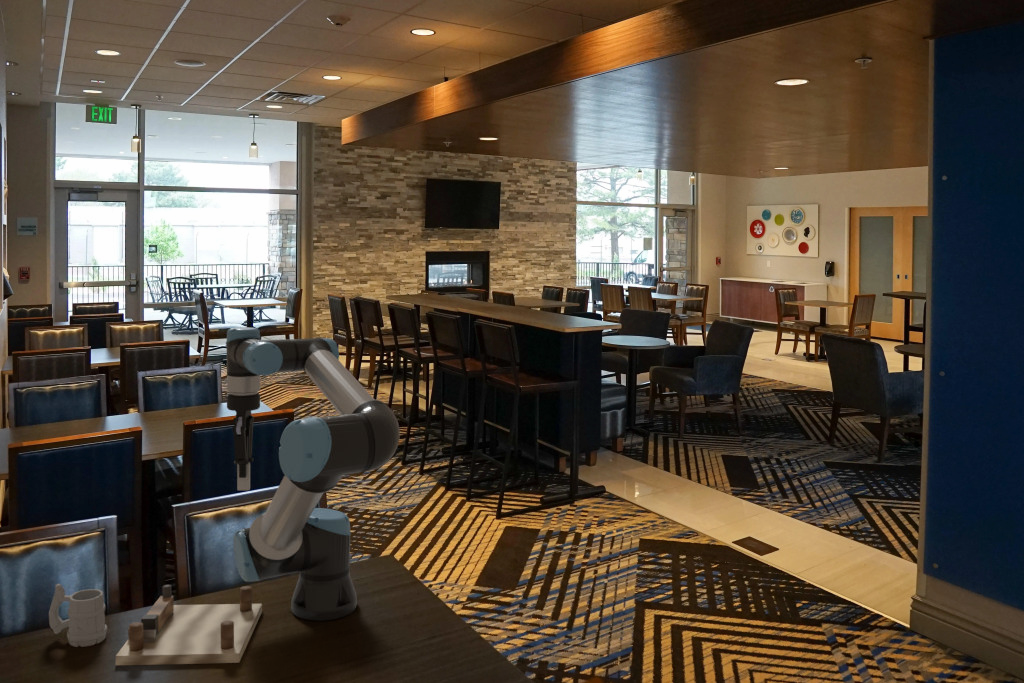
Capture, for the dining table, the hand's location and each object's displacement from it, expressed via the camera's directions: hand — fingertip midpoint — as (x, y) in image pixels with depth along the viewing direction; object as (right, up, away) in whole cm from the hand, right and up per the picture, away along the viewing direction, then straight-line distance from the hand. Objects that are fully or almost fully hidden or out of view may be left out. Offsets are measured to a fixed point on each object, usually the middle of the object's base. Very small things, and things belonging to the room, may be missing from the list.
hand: (243, 489), depth 196 cm
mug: (-28, -28, -22) cm, 46 cm away
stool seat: (-4, -28, -19) cm, 35 cm away
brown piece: (-12, -26, -19) cm, 34 cm away
